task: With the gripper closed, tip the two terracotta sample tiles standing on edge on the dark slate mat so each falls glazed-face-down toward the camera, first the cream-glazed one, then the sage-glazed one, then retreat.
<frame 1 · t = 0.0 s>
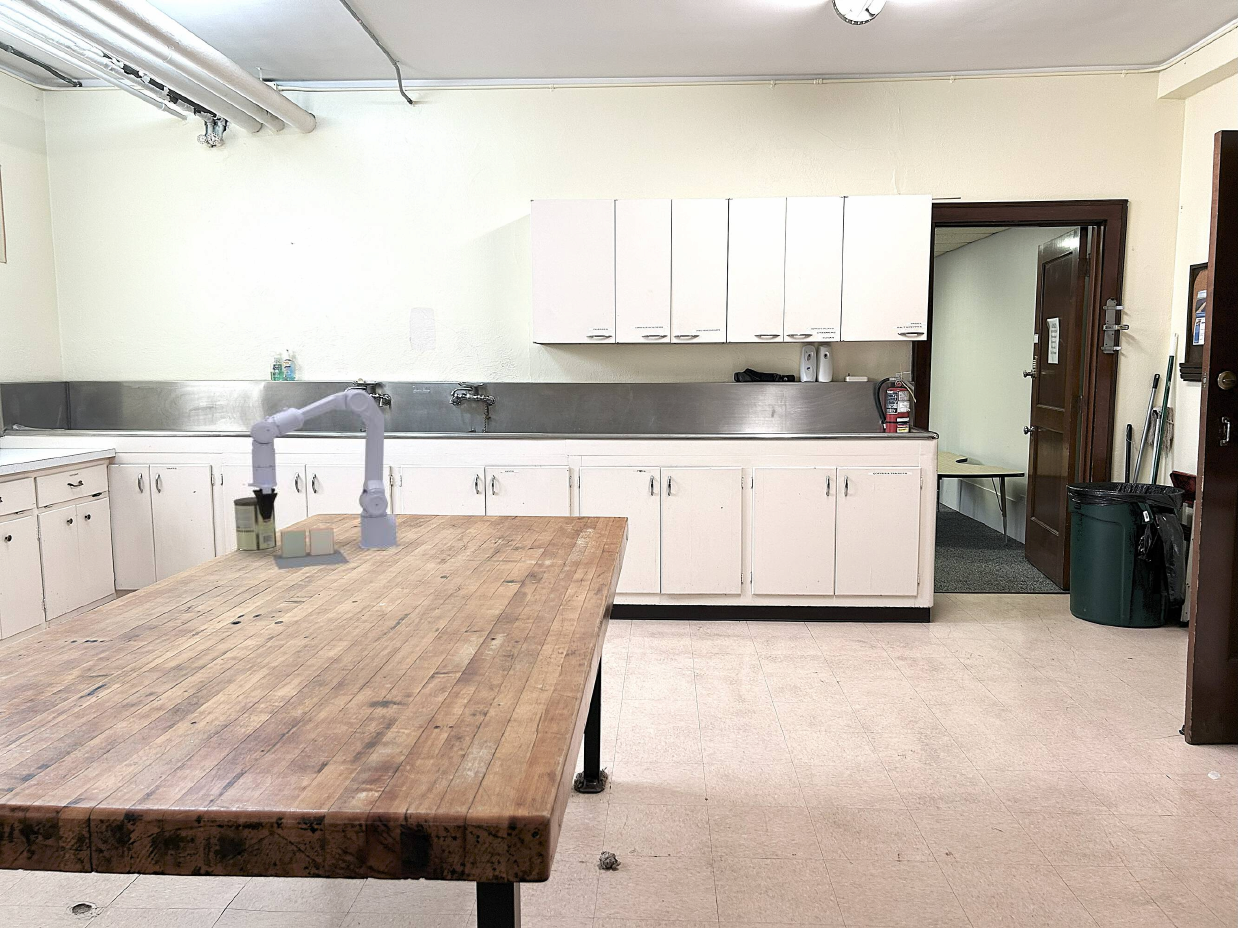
hand: (265, 517, 234), 10 cm above the table, tool pointing down, fingers open, 5 cm apart
coffee can: (256, 550, 242), on the table, touching gripper
tile a: (321, 554, 235), resting on slate mat
tile b: (294, 556, 232), resting on slate mat
slate mat: (310, 560, 229), on the table
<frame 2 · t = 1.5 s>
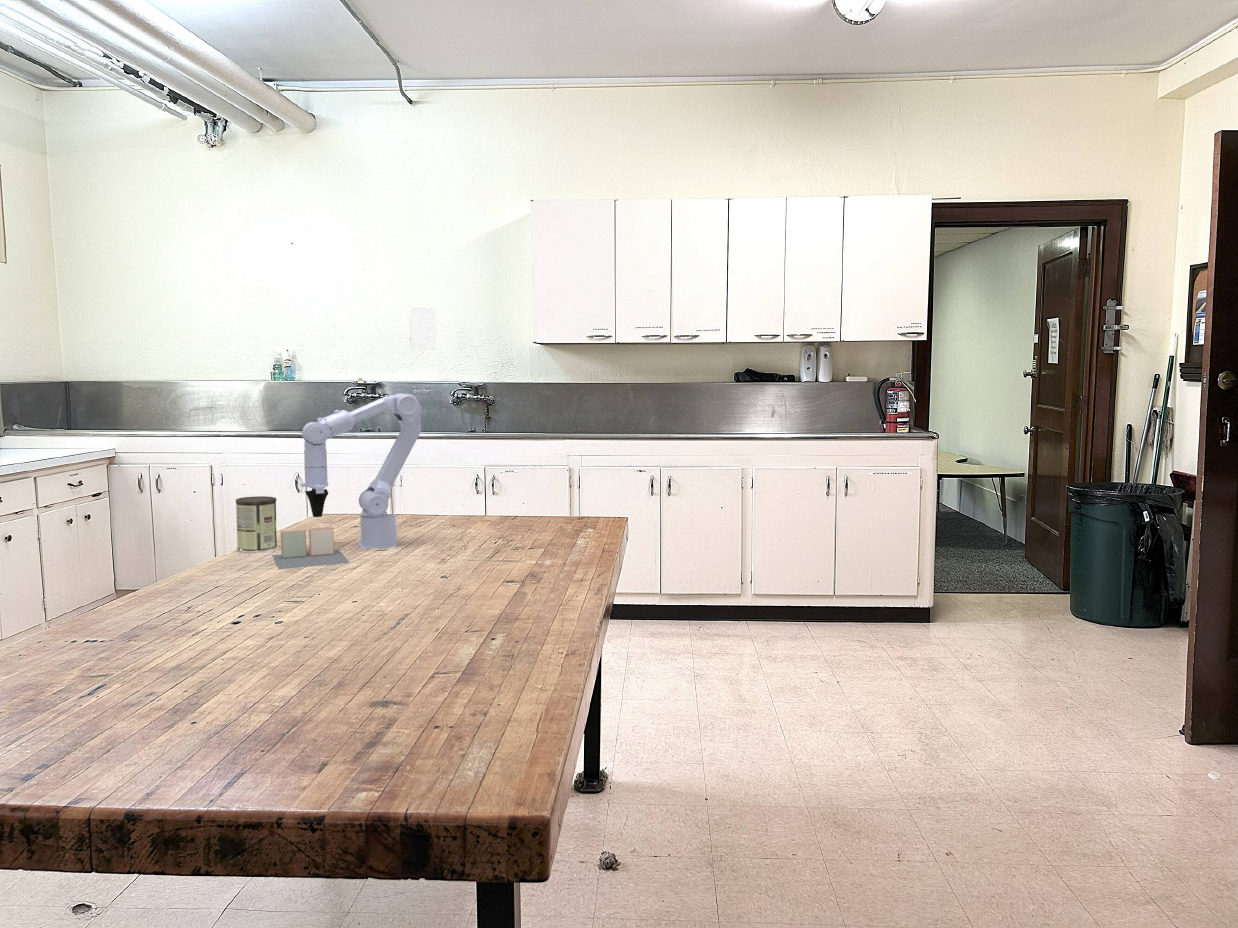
hand: (317, 516, 239), 10 cm above the table, tool pointing down, fingers closed
coffee can: (256, 550, 242), on the table
everything else where it was.
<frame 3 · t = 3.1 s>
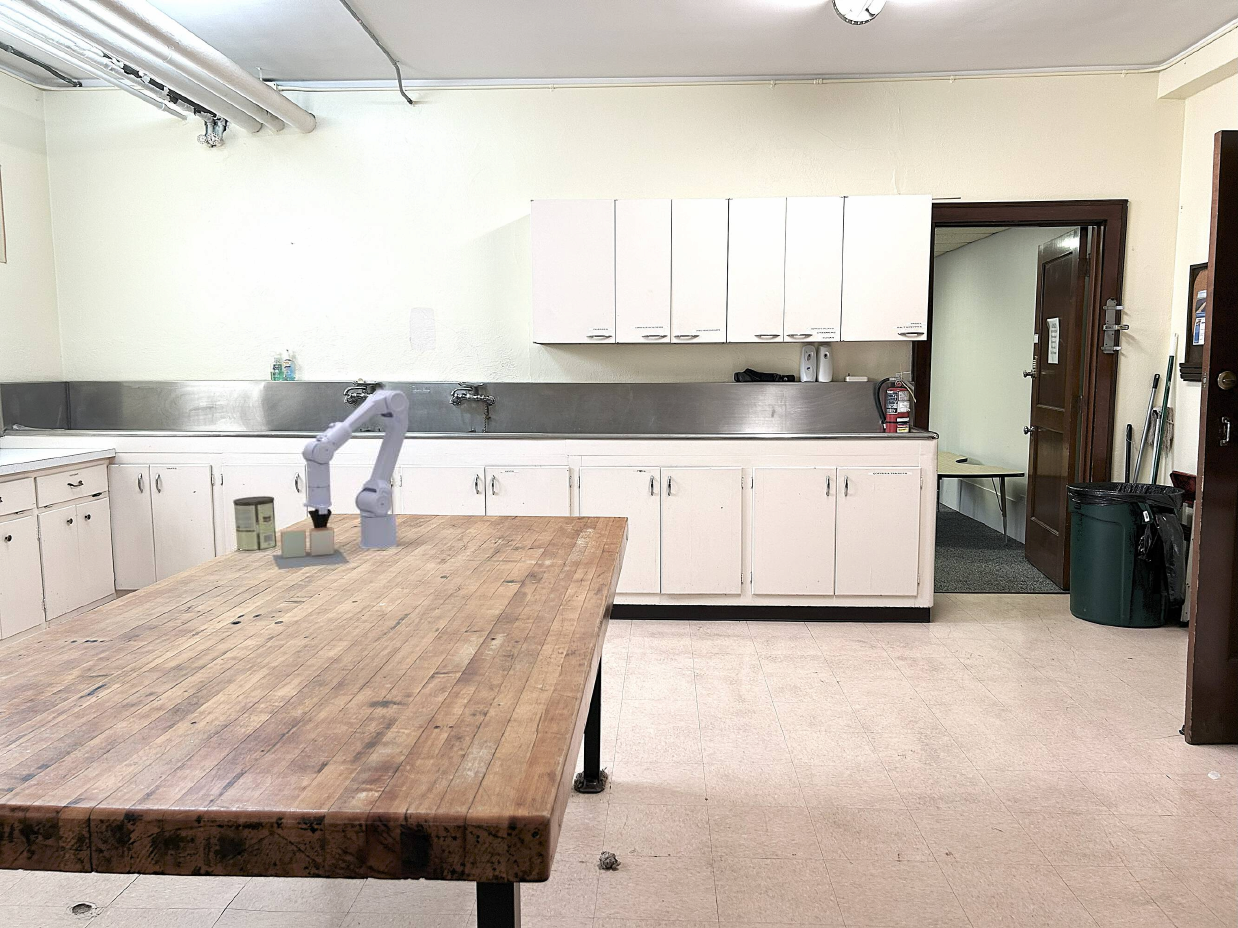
hand: (320, 536, 235), 5 cm above the table, tool pointing down, fingers closed
tile a: (321, 553, 235), point 1 cm above the table, tilted 12°, touching gripper, slate mat
everything else where it was.
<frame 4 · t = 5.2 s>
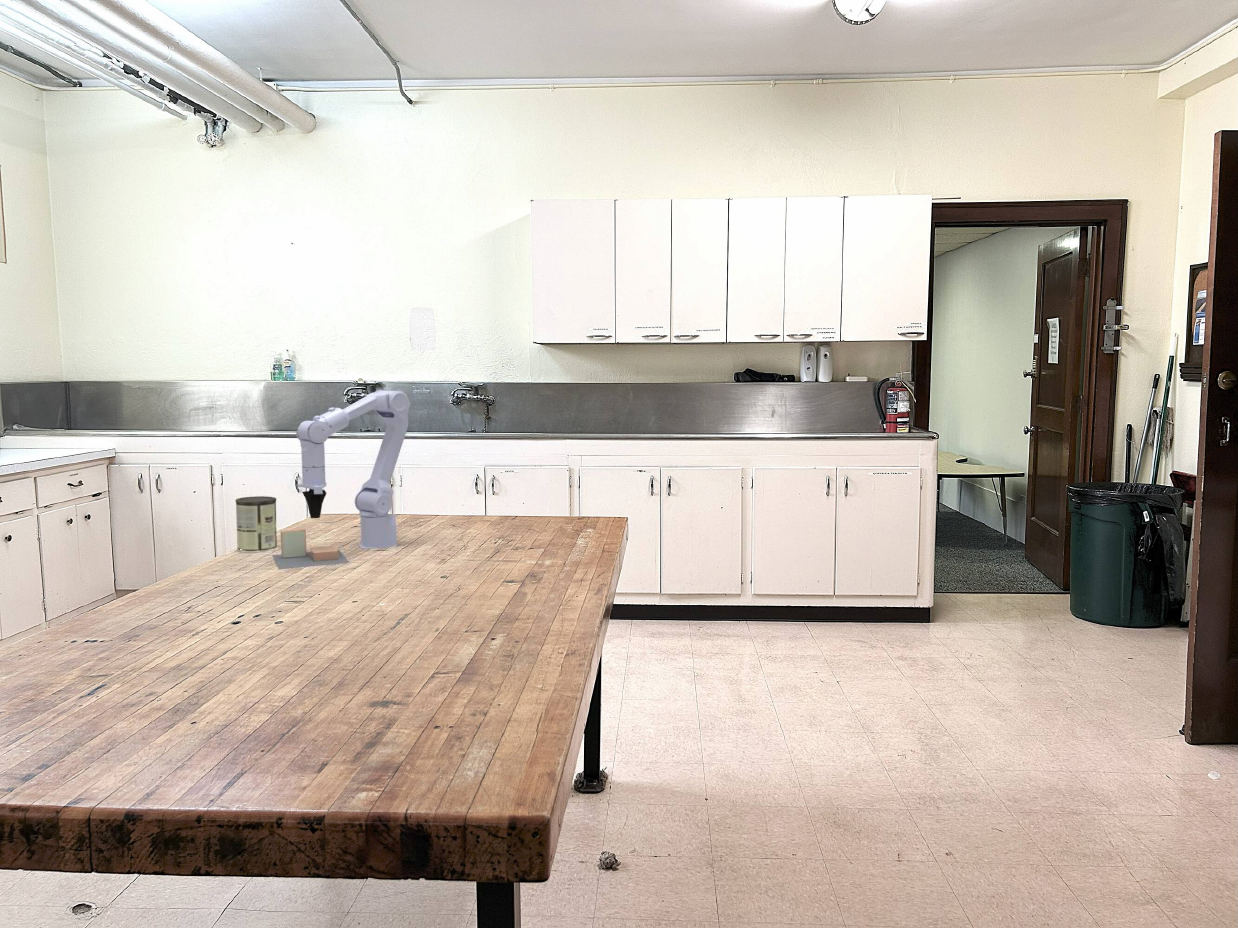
hand: (315, 517, 232), 10 cm above the table, tool pointing down, fingers closed
tile a: (322, 550, 234), point 2 cm above the table, tilted 90°, touching slate mat
everything else where it was.
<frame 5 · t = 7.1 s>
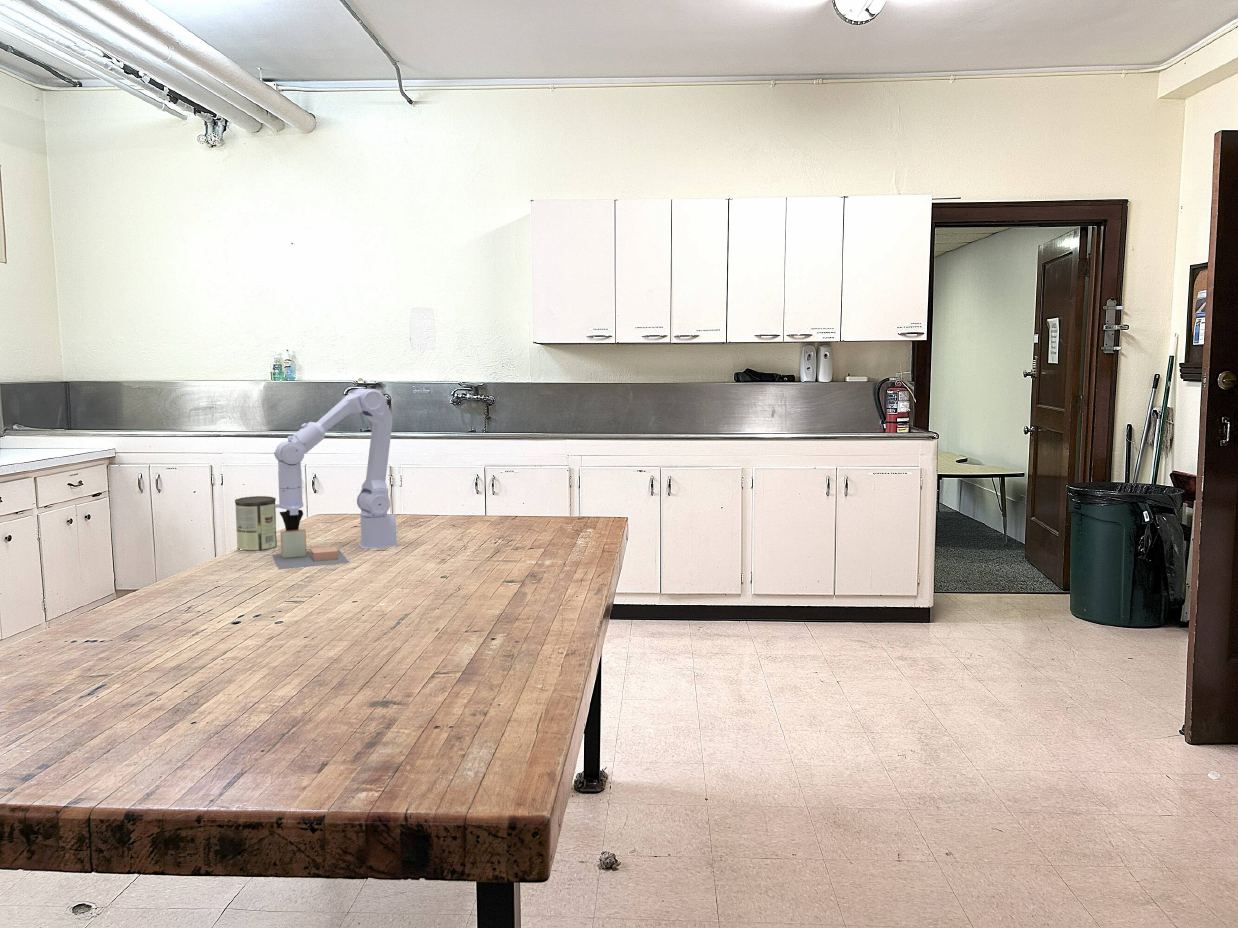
hand: (292, 538, 233), 5 cm above the table, tool pointing down, fingers closed
tile b: (294, 556, 232), resting on slate mat, touching gripper
everything else where it was.
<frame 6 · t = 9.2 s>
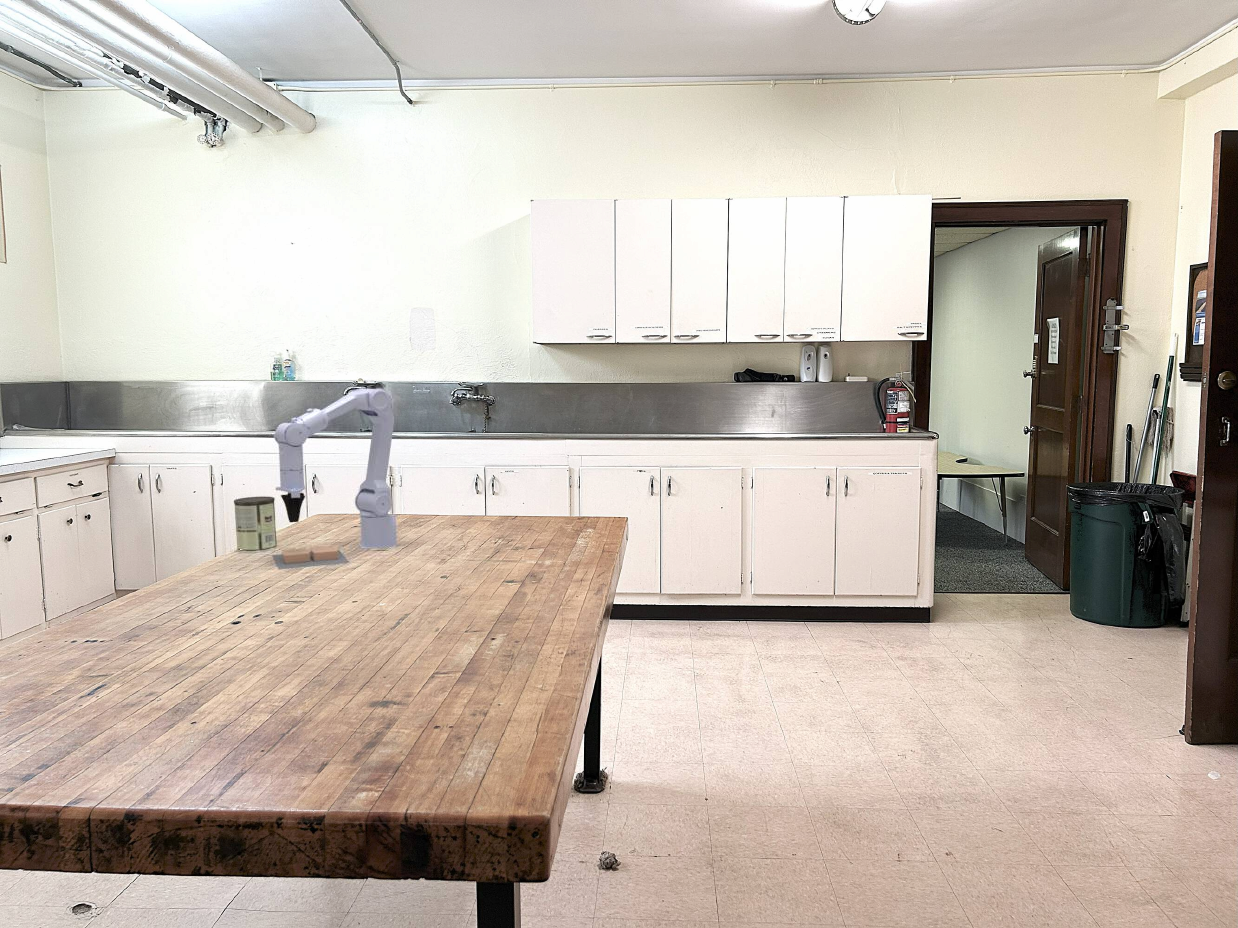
hand: (293, 521, 229), 10 cm above the table, tool pointing down, fingers closed
tile b: (294, 553, 231), point 2 cm above the table, tilted 90°, touching slate mat
everything else where it was.
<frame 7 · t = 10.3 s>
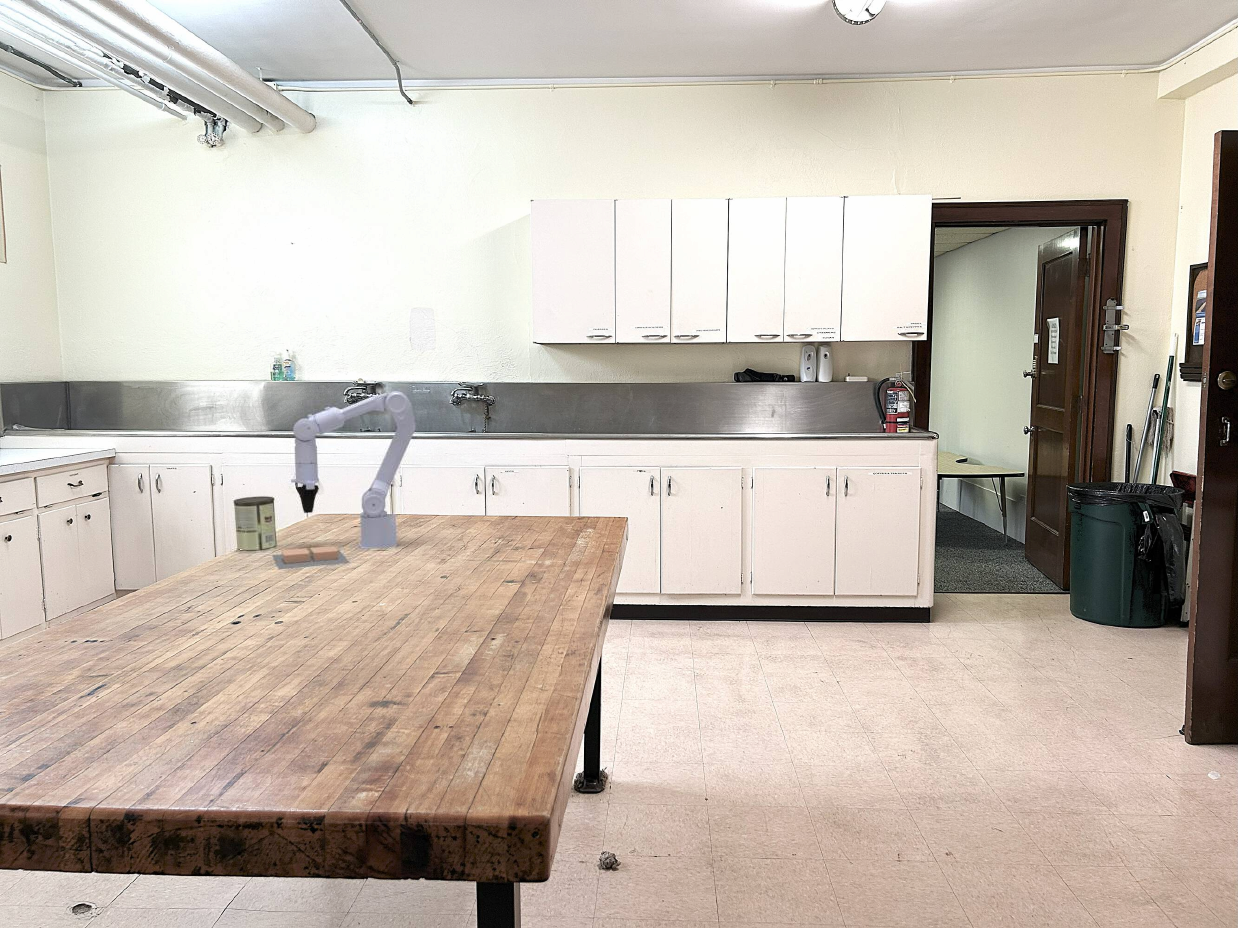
hand: (308, 512, 241), 10 cm above the table, tool pointing down, fingers closed
nothing on the table moved.
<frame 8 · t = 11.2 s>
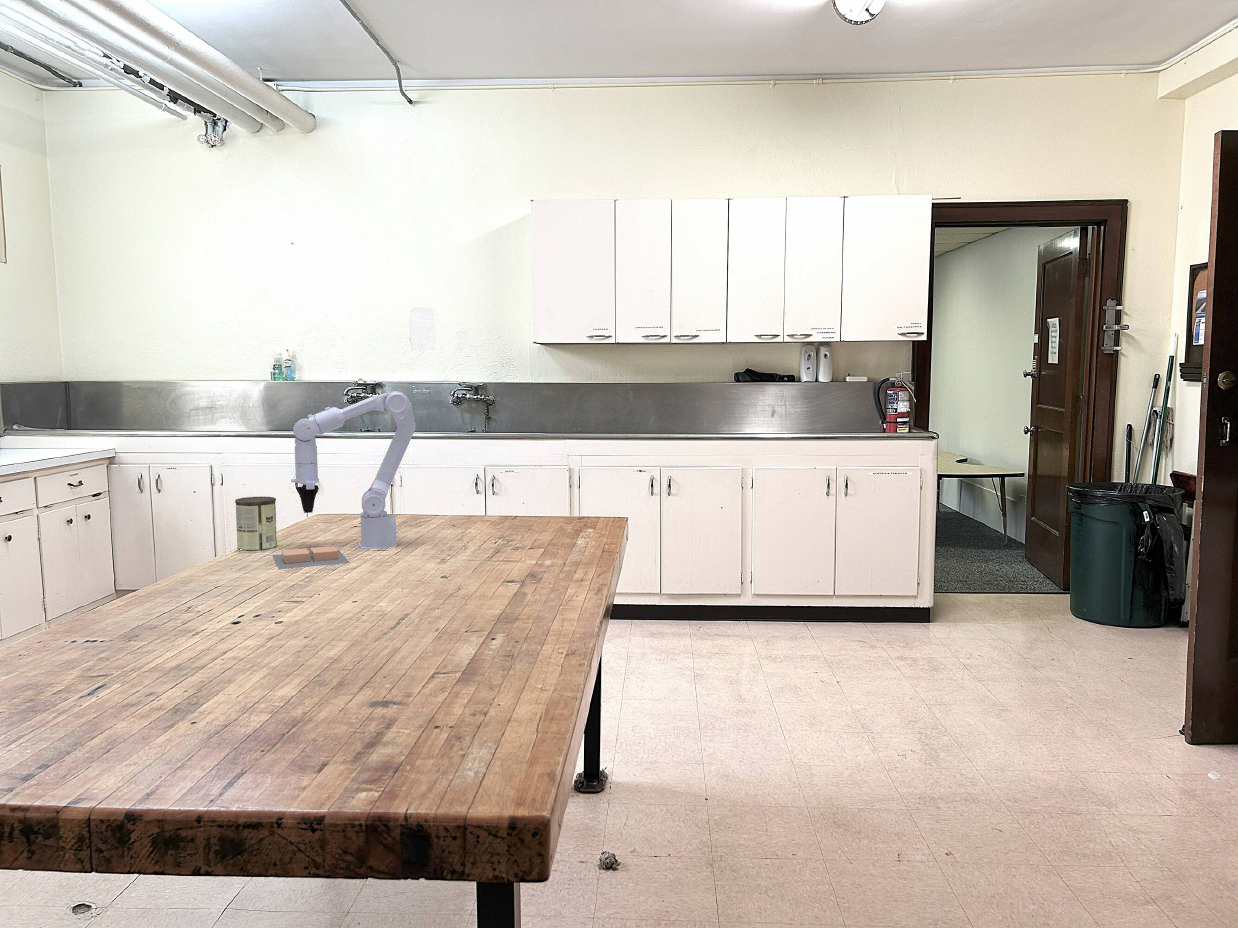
hand: (308, 512, 241), 10 cm above the table, tool pointing down, fingers closed
nothing on the table moved.
at the end: tile a tilted 90°; tile b tilted 90°; tile a inside the target area (4.9 cm from its centre), point 1.6 cm above the table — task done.
